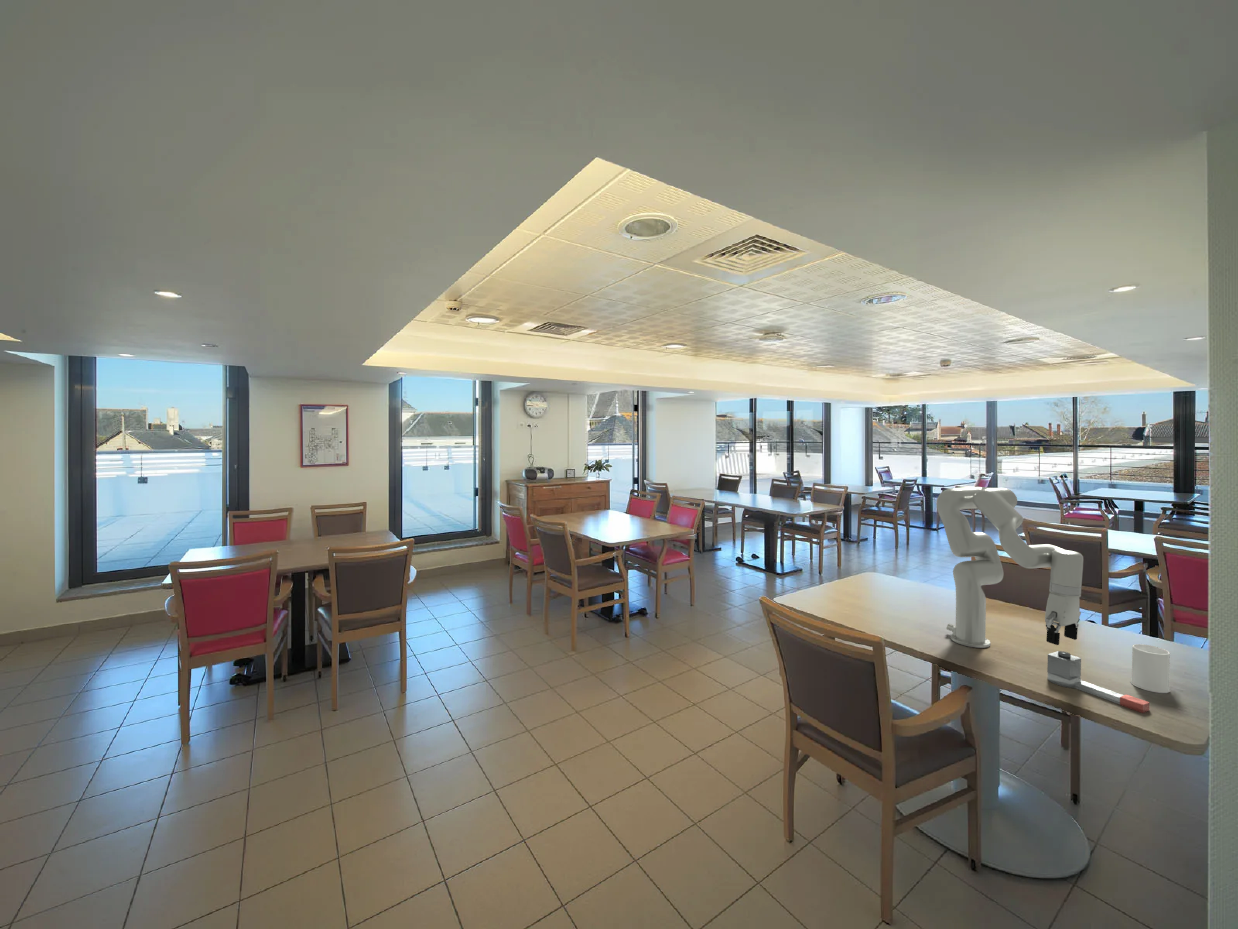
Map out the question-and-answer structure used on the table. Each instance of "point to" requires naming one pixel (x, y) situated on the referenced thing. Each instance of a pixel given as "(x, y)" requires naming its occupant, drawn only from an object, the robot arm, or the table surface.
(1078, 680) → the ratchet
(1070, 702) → the table surface
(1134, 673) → the mug
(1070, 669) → the cube with domed knob
